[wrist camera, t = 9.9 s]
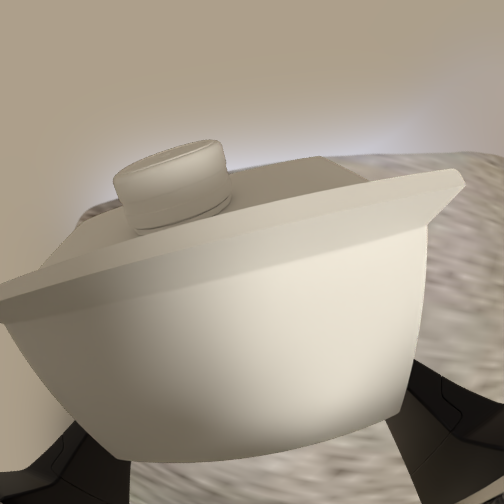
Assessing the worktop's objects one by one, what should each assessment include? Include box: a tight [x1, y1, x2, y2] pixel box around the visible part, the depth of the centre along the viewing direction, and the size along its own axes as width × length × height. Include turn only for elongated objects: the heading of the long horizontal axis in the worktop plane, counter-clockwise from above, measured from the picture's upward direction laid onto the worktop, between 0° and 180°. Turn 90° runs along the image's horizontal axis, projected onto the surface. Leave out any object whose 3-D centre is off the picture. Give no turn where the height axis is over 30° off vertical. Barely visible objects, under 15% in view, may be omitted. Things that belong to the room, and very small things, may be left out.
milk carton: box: [0, 140, 466, 463], centre depth 11 cm, size 7×7×19 cm
